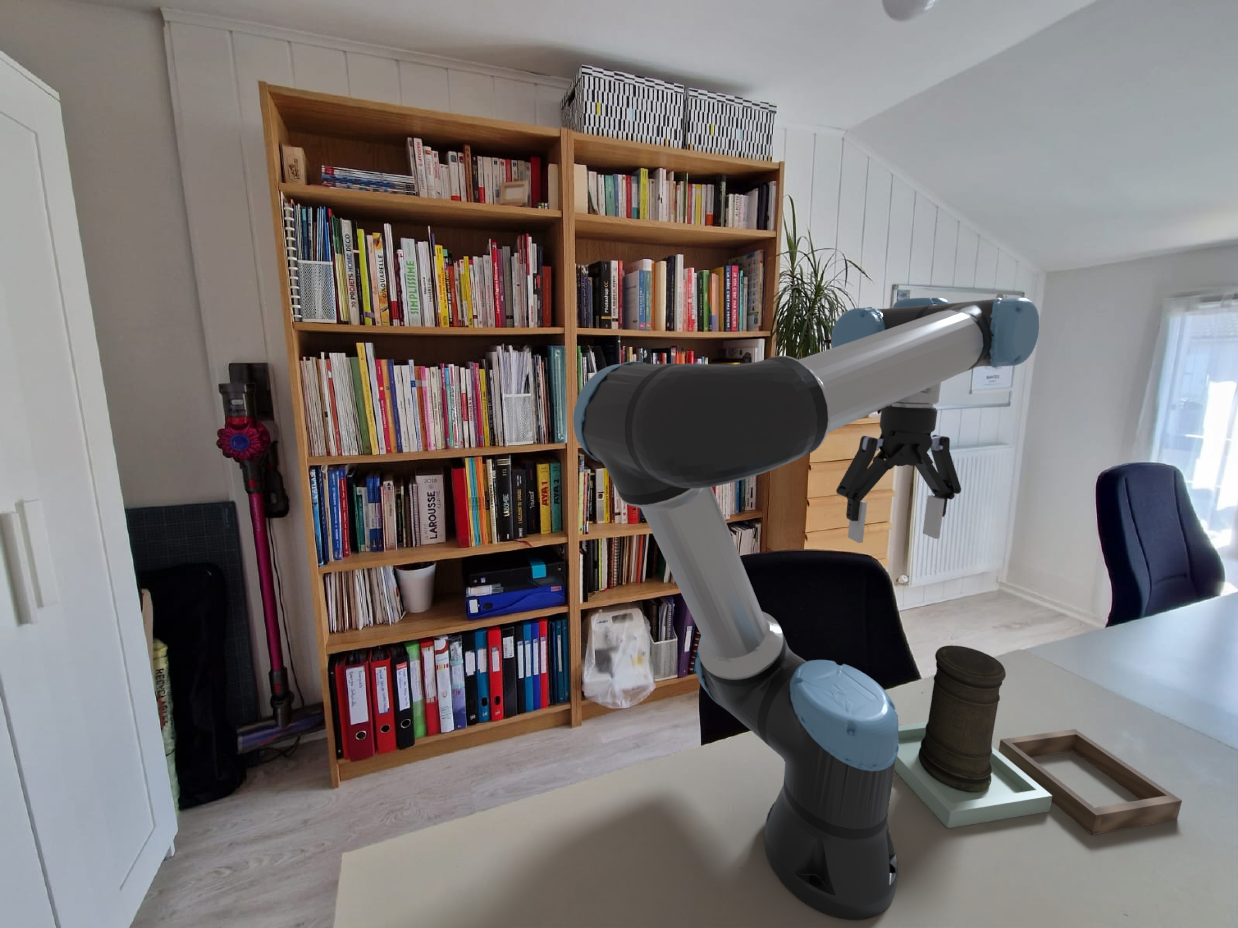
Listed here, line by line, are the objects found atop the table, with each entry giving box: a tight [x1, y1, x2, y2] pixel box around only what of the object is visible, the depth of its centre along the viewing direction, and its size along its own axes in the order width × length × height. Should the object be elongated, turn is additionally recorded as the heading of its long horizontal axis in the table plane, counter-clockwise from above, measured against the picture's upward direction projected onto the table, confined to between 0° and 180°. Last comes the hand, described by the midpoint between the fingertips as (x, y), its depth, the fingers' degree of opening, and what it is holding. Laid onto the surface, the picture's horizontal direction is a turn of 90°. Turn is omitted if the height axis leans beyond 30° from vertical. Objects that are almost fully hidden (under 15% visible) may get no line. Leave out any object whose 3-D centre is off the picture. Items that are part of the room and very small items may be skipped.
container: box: [919, 644, 1007, 792], centre depth 76 cm, size 9×9×18 cm
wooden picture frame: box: [998, 728, 1183, 836], centre depth 75 cm, size 14×14×3 cm
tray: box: [894, 721, 1052, 829], centre depth 77 cm, size 16×16×2 cm
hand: (893, 538), depth 83 cm, fingers open, 13 cm apart
